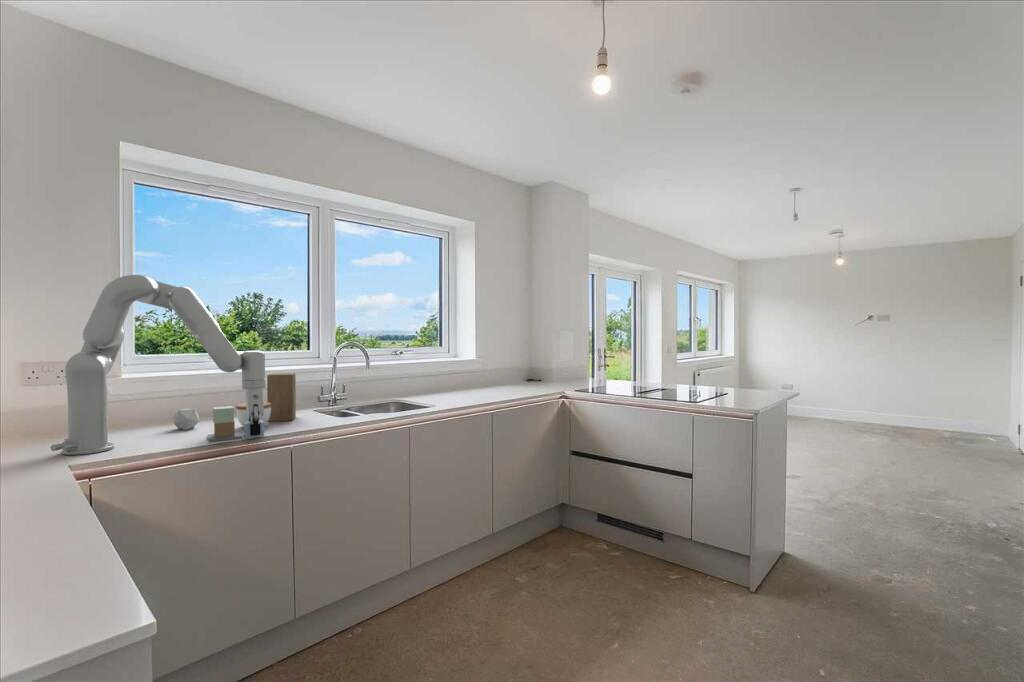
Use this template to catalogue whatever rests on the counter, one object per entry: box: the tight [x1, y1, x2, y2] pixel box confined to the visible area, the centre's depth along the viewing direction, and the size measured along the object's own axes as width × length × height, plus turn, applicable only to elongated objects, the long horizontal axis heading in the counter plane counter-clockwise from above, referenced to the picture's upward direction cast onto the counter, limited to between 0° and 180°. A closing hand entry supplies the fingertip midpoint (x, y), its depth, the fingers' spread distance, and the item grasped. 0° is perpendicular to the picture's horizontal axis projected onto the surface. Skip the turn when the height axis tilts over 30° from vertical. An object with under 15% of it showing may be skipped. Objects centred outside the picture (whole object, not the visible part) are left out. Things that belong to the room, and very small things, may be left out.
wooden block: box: [266, 372, 297, 423], centre depth 214 cm, size 10×10×20 cm
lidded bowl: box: [235, 401, 272, 427], centre depth 198 cm, size 13×13×11 cm
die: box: [172, 407, 200, 431], centre depth 193 cm, size 8×9×10 cm
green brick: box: [212, 405, 235, 425], centre depth 177 cm, size 6×6×5 cm
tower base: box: [207, 421, 242, 442], centre depth 177 cm, size 10×10×6 cm
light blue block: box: [243, 420, 265, 439], centre depth 181 cm, size 6×6×5 cm
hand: (254, 433), depth 181 cm, fingers closed on light blue block, 6 cm apart
